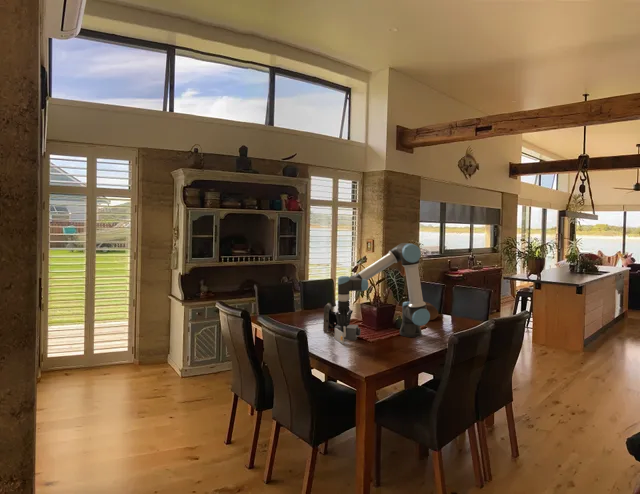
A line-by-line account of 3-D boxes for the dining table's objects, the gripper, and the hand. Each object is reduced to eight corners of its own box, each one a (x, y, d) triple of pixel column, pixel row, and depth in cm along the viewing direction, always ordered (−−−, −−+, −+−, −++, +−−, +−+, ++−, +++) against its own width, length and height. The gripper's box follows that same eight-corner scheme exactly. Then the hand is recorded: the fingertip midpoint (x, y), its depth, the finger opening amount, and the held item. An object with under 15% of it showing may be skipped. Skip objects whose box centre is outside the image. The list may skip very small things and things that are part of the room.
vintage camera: (344, 334, 296) (346, 306, 294) (322, 332, 299) (324, 304, 298) (346, 331, 305) (347, 304, 304) (325, 329, 308) (326, 302, 307)
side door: (344, 344, 271) (344, 332, 271) (341, 344, 270) (341, 333, 270) (335, 338, 284) (335, 327, 284) (333, 338, 283) (333, 327, 283)
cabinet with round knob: (360, 337, 289) (361, 324, 288) (358, 340, 280) (358, 327, 279) (337, 335, 293) (337, 322, 292) (334, 338, 284) (335, 325, 284)
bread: (441, 321, 335) (442, 305, 334) (407, 321, 336) (407, 304, 335) (433, 314, 361) (433, 298, 360) (401, 313, 362) (402, 298, 361)
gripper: (348, 298, 280) (348, 333, 282) (332, 300, 274) (332, 336, 276) (355, 300, 274) (355, 336, 275) (338, 302, 267) (338, 339, 269)
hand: (343, 336), depth 276 cm, fingers closed
